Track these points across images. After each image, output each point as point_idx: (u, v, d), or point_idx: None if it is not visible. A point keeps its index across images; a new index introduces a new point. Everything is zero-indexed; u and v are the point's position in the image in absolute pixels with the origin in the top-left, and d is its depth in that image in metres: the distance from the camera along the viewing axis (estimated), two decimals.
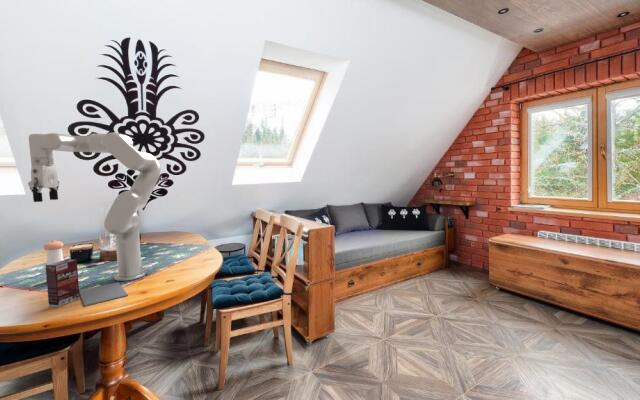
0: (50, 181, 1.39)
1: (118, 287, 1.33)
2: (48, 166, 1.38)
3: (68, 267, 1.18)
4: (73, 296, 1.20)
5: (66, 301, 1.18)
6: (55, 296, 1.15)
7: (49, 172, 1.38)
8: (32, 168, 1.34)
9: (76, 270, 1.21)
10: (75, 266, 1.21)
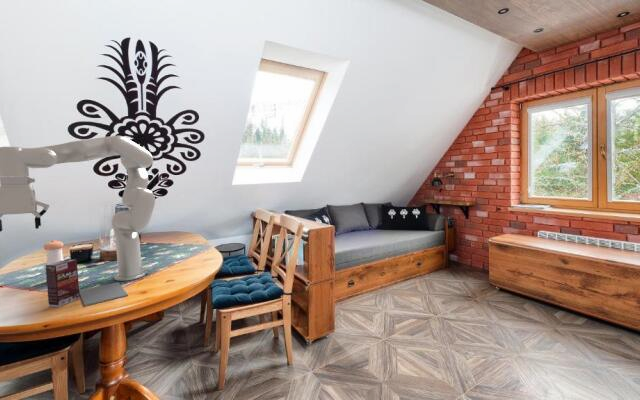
0: None
1: (118, 287, 1.33)
2: None
3: (68, 267, 1.18)
4: (73, 296, 1.20)
5: (66, 301, 1.18)
6: (55, 296, 1.15)
7: None
8: (32, 189, 1.12)
9: (76, 270, 1.21)
10: (75, 266, 1.21)
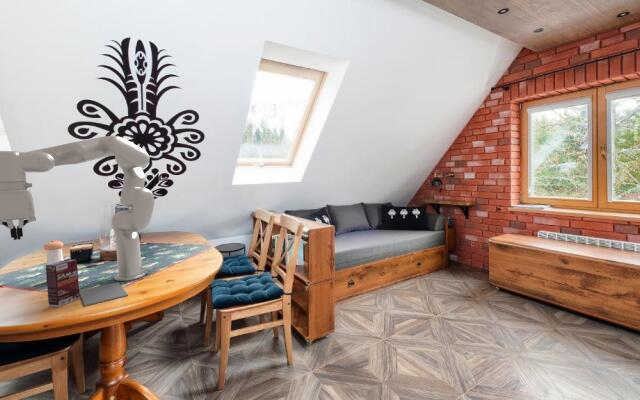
0: None
1: (118, 287, 1.33)
2: None
3: (68, 267, 1.18)
4: (73, 296, 1.20)
5: (66, 301, 1.18)
6: (56, 296, 1.15)
7: None
8: (30, 194, 1.10)
9: (76, 270, 1.21)
10: (75, 266, 1.21)
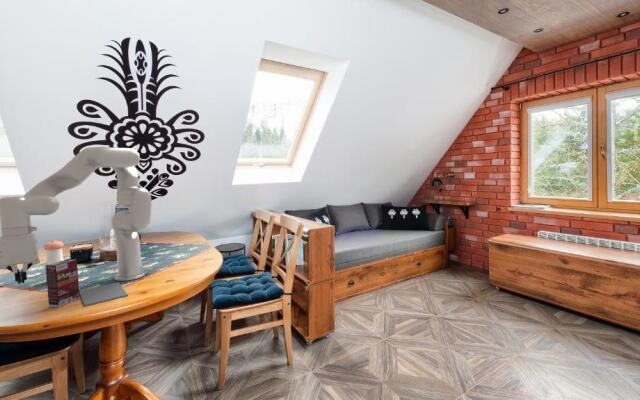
0: None
1: (118, 287, 1.33)
2: None
3: (68, 267, 1.18)
4: (73, 296, 1.20)
5: (66, 301, 1.18)
6: (55, 296, 1.15)
7: None
8: (34, 238, 1.11)
9: (76, 270, 1.21)
10: (75, 266, 1.21)
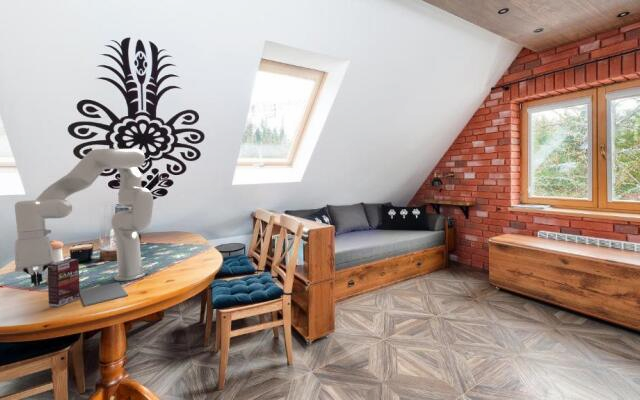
0: None
1: (118, 287, 1.33)
2: None
3: (70, 267, 1.18)
4: (73, 296, 1.20)
5: (66, 301, 1.18)
6: (56, 295, 1.15)
7: None
8: (49, 240, 1.14)
9: (77, 270, 1.22)
10: (77, 266, 1.21)
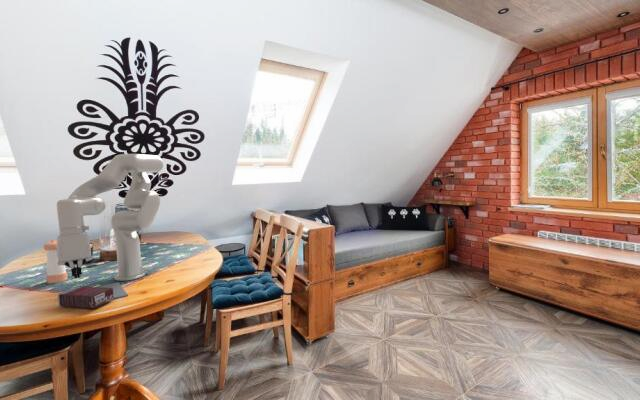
0: None
1: (118, 287, 1.33)
2: None
3: None
4: None
5: None
6: (67, 305, 1.14)
7: None
8: (87, 236, 1.22)
9: None
10: None
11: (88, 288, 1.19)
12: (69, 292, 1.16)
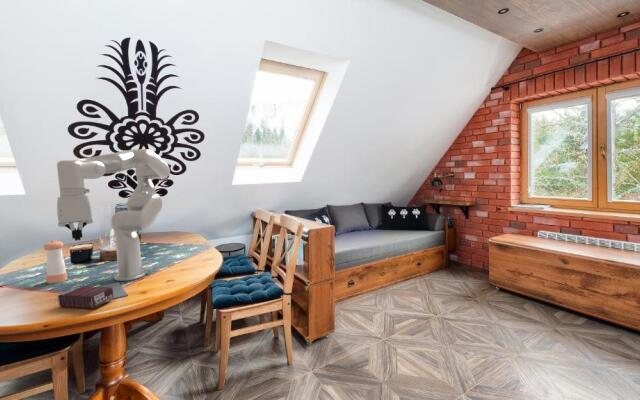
0: None
1: (118, 287, 1.33)
2: None
3: None
4: None
5: None
6: (67, 305, 1.14)
7: None
8: (88, 199, 1.21)
9: None
10: None
11: (88, 288, 1.19)
12: (69, 292, 1.16)
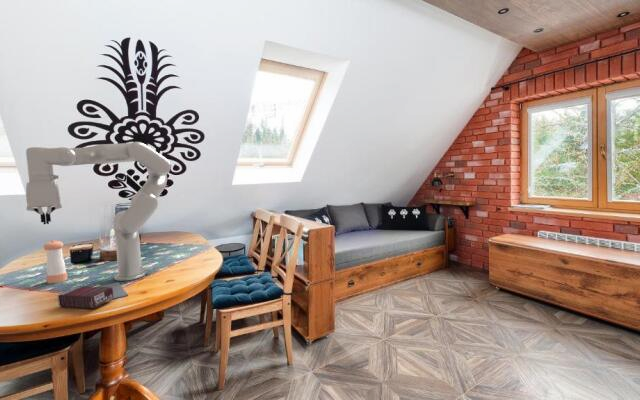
0: None
1: (118, 287, 1.33)
2: None
3: None
4: None
5: None
6: (67, 305, 1.14)
7: None
8: (56, 184, 1.27)
9: None
10: None
11: (88, 288, 1.19)
12: (69, 292, 1.16)
